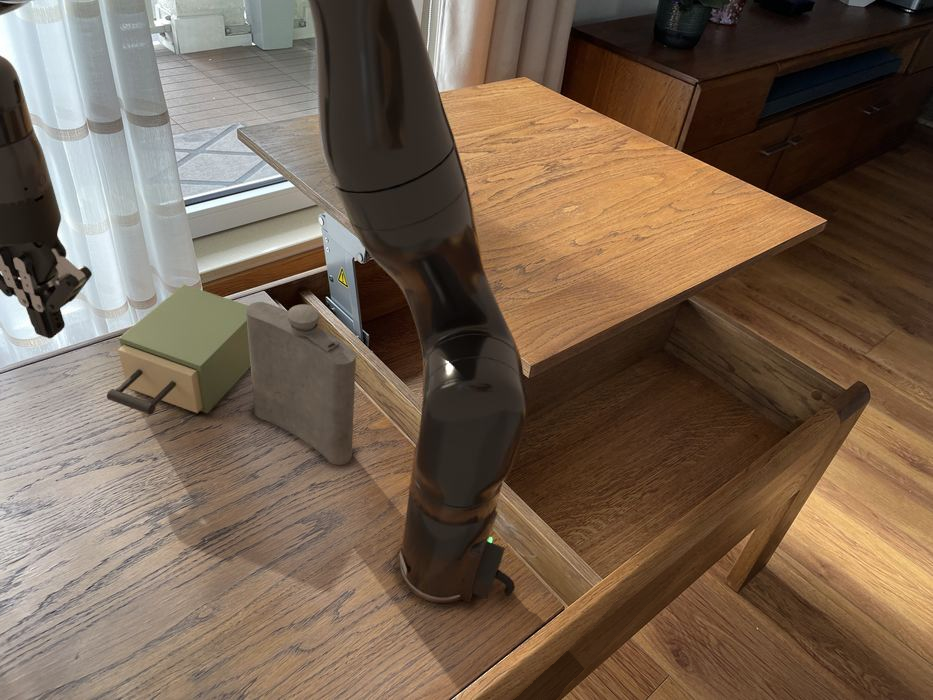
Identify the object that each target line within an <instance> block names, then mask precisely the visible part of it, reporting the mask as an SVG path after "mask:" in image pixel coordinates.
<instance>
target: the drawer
mask: <svg viewBox="0 0 933 700" xmlns="http://www.w3.org/2000/svg"><path fill="white" fill-rule="evenodd" d="M117 352H118V356H119V360H120V364H121V369H122V373H123V377H124V380H125V381H123V382H122V383H121V384H120V385H118V387H116V389H115V388H111V389H109V391H108V392H106V393H107V394H106V399H107V400H109V401H112V402H113V403H117V404H119V405H122V406H125V407H128V408H130V409H133V410H135V411H138V412H141V413H144V414H147V415H153V413H154V412H155V411H156V406H157V405H158V404H159V403H160V402H161V401H163V402H165V403H168V404H171V405H173V406H176V407H179V408H181V409H184V410H187V411H190V412H193V413H195V414H198V413H199V412H201V411H200V410H201V409H202V408H203V407H202V400H201V394H200V387H199V381H198V374H197V370H196V369H195V370H194V369H191V368H189V367H186V366H183V365H180V364H177V363H174V362H172V361H169V360H166V359H163V358H160V356H158V355H155V354H152V353H149V352H146V351H143V350H141V349H138V348H137V349H135V348H132V347H129V346H126V345H123V346H122V347H121V346H120V348H118V349H117ZM127 389H130V390H132V391H135V392H138V393H140V394H143V395H146V396H149V397H152V398H153V399H151V401H147V400H144V399H142V398H139V397H136V396H133V395H130V394H128V393H125V392H124V391H126V390H127Z"/></svg>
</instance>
